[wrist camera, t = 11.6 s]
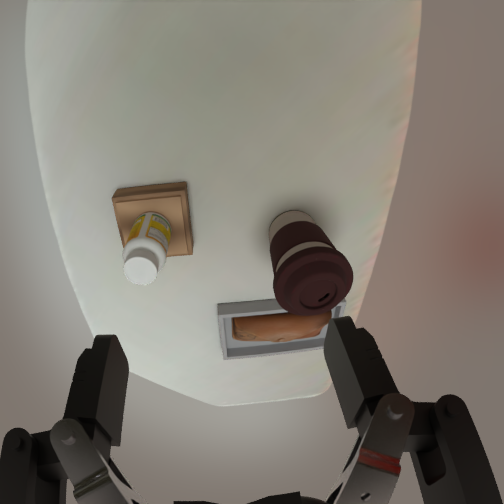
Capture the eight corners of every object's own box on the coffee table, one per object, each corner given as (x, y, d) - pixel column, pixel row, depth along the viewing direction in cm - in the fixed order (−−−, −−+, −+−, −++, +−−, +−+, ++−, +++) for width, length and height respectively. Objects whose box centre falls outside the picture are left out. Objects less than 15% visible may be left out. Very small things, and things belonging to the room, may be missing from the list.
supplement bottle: (170, 210, 42) (161, 251, 34) (172, 244, 45) (166, 290, 37) (130, 211, 41) (113, 252, 33) (135, 245, 44) (122, 290, 36)
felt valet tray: (217, 303, 56) (218, 315, 54) (341, 291, 58) (346, 301, 56) (222, 349, 63) (223, 359, 61) (331, 336, 65) (335, 346, 63)
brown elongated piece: (231, 342, 61) (234, 354, 54) (230, 306, 60) (232, 315, 54) (321, 334, 63) (333, 345, 56) (322, 300, 63) (334, 308, 56)
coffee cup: (254, 208, 47) (271, 272, 35) (320, 195, 47) (359, 252, 35) (264, 262, 53) (282, 332, 40) (324, 249, 53) (356, 314, 40)
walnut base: (117, 189, 42) (110, 199, 40) (186, 181, 43) (184, 191, 40) (130, 248, 48) (125, 261, 45) (193, 243, 49) (192, 256, 46)
